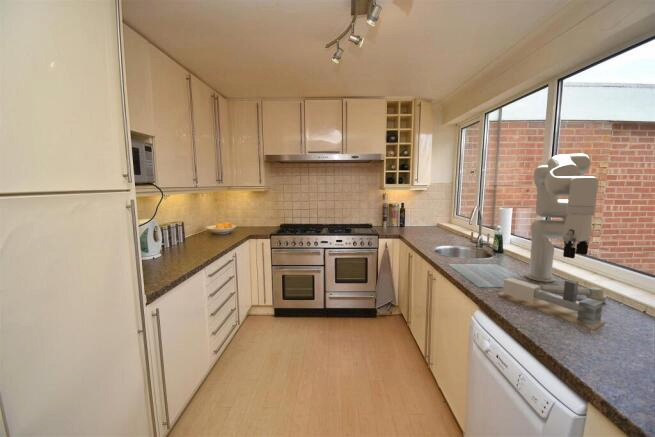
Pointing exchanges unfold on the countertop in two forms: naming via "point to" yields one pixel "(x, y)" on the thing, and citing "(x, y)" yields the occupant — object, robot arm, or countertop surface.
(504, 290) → the sleeve
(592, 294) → the electric toothbrush handle
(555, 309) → the stand
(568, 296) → the grey l-shaped piece
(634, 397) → the countertop surface
